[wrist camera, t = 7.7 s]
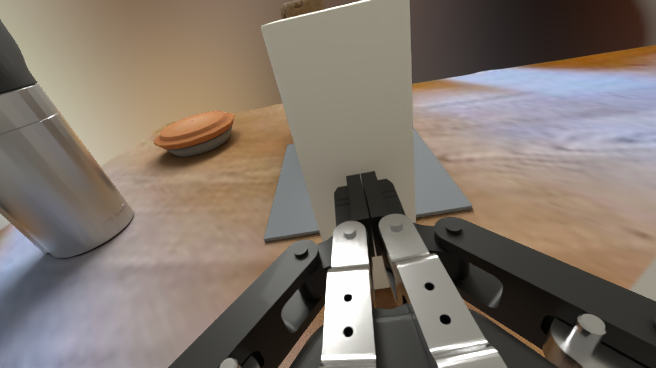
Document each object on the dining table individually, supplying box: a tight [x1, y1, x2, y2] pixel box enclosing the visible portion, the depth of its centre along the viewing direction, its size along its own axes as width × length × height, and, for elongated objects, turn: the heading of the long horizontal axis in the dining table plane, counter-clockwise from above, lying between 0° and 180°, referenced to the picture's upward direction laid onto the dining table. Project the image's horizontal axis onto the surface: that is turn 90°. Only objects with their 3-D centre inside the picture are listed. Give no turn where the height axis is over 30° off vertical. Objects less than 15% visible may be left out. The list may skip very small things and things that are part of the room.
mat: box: [264, 128, 472, 242], centre depth 35 cm, size 20×22×1 cm
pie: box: [154, 111, 234, 157], centre depth 55 cm, size 15×16×5 cm
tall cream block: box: [261, 0, 416, 289], centre depth 18 cm, size 6×6×18 cm
